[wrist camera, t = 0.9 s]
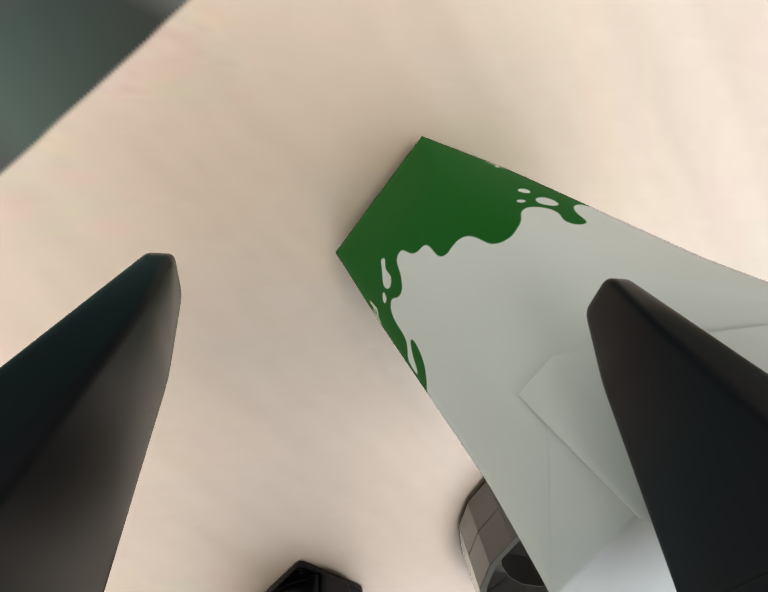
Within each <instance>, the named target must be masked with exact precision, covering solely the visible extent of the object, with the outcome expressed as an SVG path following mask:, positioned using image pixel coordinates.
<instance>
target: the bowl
mask: <svg viewBox="0 0 768 592" xmlns="http://www.w3.org/2000/svg"><path fill="white" fill-rule="evenodd" d="M459 531H460V540H461V548H462V551H463V554H464V557H465V560H466V564H467V567H468V570H469V573H470V576H471V579H472V582H473V586H474V589H475V592H549V591H548V589H547V587H546V586H545V584H544V582H543V580H542V578H541V576H540V574H539V573H538V571H537V569H536V567H535V565H534V564H533V562H532V560H531V558H530V556H529V555H528V553H527V551H526V549H525V547H524V546H523V544H522V542H521V540H520V538H519V537H518V535H517V533H516V531H515V530H514V528H513V526H512V524H511V522H510V521H509V519H508V517H507V515H506V514H505V512H504V510H503V508H502V507H501V505H500V503H499V501H498V500H497V498H496V496H495V494H494V493H493V491H492V489H491V487H490V486H489V484H488V483H487V481H486V482H485V483H484V484H483V485H482V487H481V488H480V489H479V490H478V491H477V492H476V494H475V495H474V496H473V497H472V498H471V500H470V501H469V502H468V504H467V506H466V509H465V512H464V514H463V517H462V520H461V523H460V525H459Z"/></svg>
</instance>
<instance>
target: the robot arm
mask: <svg viewBox="0 0 768 592" xmlns="http://www.w3.org/2000/svg"><path fill="white" fill-rule="evenodd" d="M180 304H181V287H180V282H179V276H178V271H177V266H176V261H175V258H174V256H172V255H171V254H164V253H147V254H145V255H143V256H142V257H141V258H140V259H138V260H137V261H136V262H135V263H133V264H132V265H131V266H129V267H128V268H127V269H126V270H124V271H123V272H122V273H120V274H119V275H118V276H117V277H115V278H114V279H113V280H112V281H110V282H109V283H108V284H106V285H105V286H104V287H103V288H101V289H100V290H99V291H97V292H96V293H95V294H94V295H92V296H91V297H90V298H89V299H87V300H86V301H85V302H83V303H82V304H81V305H80V306H78V307H77V308H76V309H75V310H73V311H72V312H71V313H69V314H68V315H67V316H66V317H64V318H63V319H62V320H60V321H59V322H58V323H57V324H55V325H54V326H53V327H52V328H50V329H49V330H48V331H46V332H45V333H44V334H43V335H41V336H40V337H39V338H37V339H36V340H35V341H34V342H32V343H31V344H30V345H29V346H27V347H26V348H25V349H23V350H22V351H21V352H20V353H18V354H17V355H16V356H14V357H13V358H12V359H11V360H9V361H8V362H7V363H6V364H4V365H3V366H2V367H0V592H104V590H105V587H106V584H107V580H108V577H109V574H110V570H111V567H112V564H113V560H114V557H115V554H116V550H117V547H118V544H119V541H120V537H121V534H122V531H123V527H124V524H125V521H126V517H127V514H128V511H129V507H130V504H131V501H132V497H133V494H134V491H135V488H136V484H137V481H138V478H139V474H140V471H141V468H142V464H143V461H144V458H145V454H146V451H147V448H148V444H149V441H150V438H151V435H152V431H153V428H154V425H155V421H156V418H157V415H158V411H159V408H160V405H161V401H162V398H163V395H164V391H165V388H166V384H167V380H168V376H169V371H170V365H171V359H172V353H173V347H174V341H175V335H176V328H177V322H178V316H179V310H180ZM587 322H588V326H589V330H590V334H591V339H592V343H593V347H594V351H595V355H596V359H597V364H598V368H599V372H600V376H601V380H602V383H603V386H604V389H605V392H606V395H607V398H608V401H609V404H610V407H611V409H612V412H613V415H614V418H615V421H616V423H617V426H618V429H619V432H620V435H621V437H622V440H623V443H624V446H625V449H626V451H627V454H628V457H629V460H630V463H631V465H632V468H633V471H634V474H635V477H636V480H637V482H638V485H639V488H640V491H641V494H642V496H643V499H644V502H645V505H646V508H647V510H648V513H649V516H650V519H651V522H652V524H653V527H654V530H655V533H656V536H657V538H658V541H659V544H660V547H661V550H662V552H663V555H664V558H665V561H666V564H667V566H668V569H669V572H670V575H671V578H672V580H673V583H674V586H675V589H676V592H768V374H767V373H766V372H765V371H763V370H762V369H760V368H759V367H757V366H756V365H754V364H753V363H751V362H750V361H748V360H747V359H745V358H744V357H742V356H741V355H739V354H738V353H737V352H735V351H734V350H732V349H731V348H729V347H728V346H726V345H725V344H723V343H722V342H720V341H719V340H717V339H716V338H714V337H713V336H712V335H710V334H709V333H707V332H706V331H704V330H703V329H701V328H700V327H698V326H697V325H695V324H694V323H692V322H691V321H689V320H688V319H686V318H685V317H684V316H682V315H681V314H679V313H678V312H676V311H675V310H673V309H672V308H670V307H669V306H667V305H666V304H664V303H663V302H661V301H660V300H658V299H657V298H656V297H654V296H653V295H651V294H650V293H648V292H647V291H645V290H644V289H642V288H641V287H639V286H638V285H636V284H635V283H633V282H632V281H630V280H628V279H618V278H609V279H607V280H605V281H604V282H603V283H602V285H601V287H600V288H599V290H598V291H597V293H596V295H595V296H594V298H593V299H592V301H591V302H590V304H589V306H588V308H587ZM267 592H363V591H362V587H361V586H359V585H356V584H354V583H352V582H349V581H347V580H345V579H342V578H340V577H338V576H335V575H333V574H331V573H328V572H326V571H324V570H321V569H319V568H317V567H314V566H312V565H310V564H307V563H305V562H298V563H296V564H295V565H294V566H293V567H292V568H291V569H290V570H289V571H288V572H287V573H286V574H285V575H284V576H283V577H281V578H280V579H279V580H278V581H277V582H276V583H275V584H274V585H273V586H272V587H271V588H270V589H269V590H268V591H267Z"/></svg>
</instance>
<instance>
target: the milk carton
mask: <svg viewBox="0 0 768 592" xmlns="http://www.w3.org/2000/svg"><path fill="white" fill-rule="evenodd" d="M336 254H337V255H338V257H339V258H340V260H341V261H342V263H343V265H344V266H345V268H346V269H347V271H348V273H349V274H350V276H351V277H352V279H353V281H354V282H355V284H356V285H357V287H358V289H359V290H360V292H361V293H362V295H363V297H364V298H365V300H366V301H367V303H368V304H369V306H370V308H371V309H372V311H373V312H374V314H375V316H376V317H377V319H378V320H379V322H380V323H381V325H382V326H383V328H384V329H385V331H386V332H387V334H388V335H389V337H390V338H391V340H392V341H393V343H394V344H395V346H396V347H397V349H398V350H399V352H400V353H401V355H402V356H403V358H404V359H405V361H406V362H407V364H408V365H409V367H410V368H411V370H412V371H413V372H414V374H415V375H416V377H417V378H418V380H419V381H420V383H421V384H422V386H423V387H424V389H425V390H426V392H427V393H428V395H429V396H430V398H431V399H432V401H433V402H434V404H435V405H436V407H437V408H438V410H439V411H440V413H441V414H442V416H443V417H444V419H445V420H446V422H447V423H448V424H449V426H450V427H451V429H452V430H453V432H454V433H455V435H456V436H457V438H458V439H459V441H460V442H461V444H462V445H463V447H464V448H465V450H466V451H467V453H468V454H469V456H470V457H471V459H472V460H473V462H474V463H475V465H476V466H477V468H478V469H479V471H480V472H481V474H482V475H483V477H484V478H485V480H486V481H487V483H488V484H489V486H490V487H491V489H492V491H493V493H494V494H495V496H496V498H497V500H498V501H499V503H500V505H501V507H502V508H503V510H504V512H505V514H506V515H507V517H508V519H509V521H510V522H511V524H512V526H513V528H514V530H515V531H516V533H517V535H518V537H519V538H520V540H521V542H522V544H523V546H524V547H525V549H526V551H527V553H528V555H529V556H530V558H531V560H532V562H533V564H534V565H535V567H536V569H537V571H538V573H539V574H540V576H541V578H542V580H543V582H544V584H545V586H546V587H547V589H548V591H549V592H676V589H675V586H674V583H673V580H672V578H671V575H670V572H669V569H668V566H667V564H666V561H665V558H664V555H663V552H662V550H661V547H660V544H659V541H658V538H657V536H656V533H655V530H654V527H653V524H652V522H651V519H650V516H649V513H648V510H647V508H646V505H645V502H644V499H643V496H642V494H641V491H640V488H639V485H638V482H637V480H636V477H635V474H634V471H633V468H632V465H631V463H630V460H629V457H628V454H627V451H626V449H625V446H624V443H623V440H622V437H621V435H620V432H619V429H618V426H617V423H616V421H615V418H614V415H613V412H612V409H611V407H610V404H609V401H608V398H607V395H606V392H605V389H604V386H603V383H602V380H601V376H600V372H599V368H598V364H597V359H596V355H595V351H594V347H593V343H592V339H591V334H590V330H589V326H588V322H587V308H588V306H589V304H590V302H591V301H592V299H593V298H594V296H595V295H596V293H597V291H598V290H599V288H600V287H601V285H602V283H603V282H604V281H605V280H607V279H609V278H618V279H628V280H630V281H632V282H633V283H635V284H636V285H638V286H639V287H641V288H642V289H644V290H645V291H647V292H648V293H650V294H651V295H653V296H654V297H656V298H657V299H658V300H660V301H661V302H663V303H664V304H666V305H667V306H669V307H670V308H672V309H673V310H675V311H676V312H678V313H679V314H681V315H682V316H684V317H685V318H686V319H688V320H689V321H691V322H692V323H694V324H695V325H697V326H698V327H700V328H701V329H703V330H704V331H706V332H707V333H709V334H710V335H712V336H713V337H714V338H716V339H717V340H719V341H720V342H722V343H723V344H725V345H726V346H728V347H729V348H731V349H732V350H734V351H735V352H737V353H738V354H739V355H741V356H742V357H744V358H745V359H747V360H748V361H750V362H751V363H753V364H754V365H756V366H757V367H759V368H760V369H762V370H763V371H765V372H766V373H767V374H768V282H766V281H764V280H761V279H758V278H756V277H753V276H750V275H748V274H745V273H742V272H740V271H737V270H734V269H732V268H729V267H726V266H724V265H721V264H719V263H716V262H713V261H711V260H708V259H706V258H703V257H701V256H699V255H696V254H694V253H692V252H689V251H687V250H685V249H683V248H681V247H678V246H676V245H674V244H672V243H670V242H667V241H665V240H663V239H661V238H659V237H656V236H654V235H652V234H650V233H648V232H645V231H643V230H641V229H639V228H637V227H634V226H632V225H630V224H628V223H626V222H623V221H621V220H619V219H617V218H614V217H612V216H610V215H608V214H606V213H603V212H601V211H599V210H597V209H595V208H592V207H590V206H588V205H586V204H584V203H581V202H579V201H577V200H575V199H573V198H570V197H568V196H566V195H564V194H561V193H559V192H557V191H555V190H553V189H550V188H548V187H546V186H544V185H542V184H539V183H537V182H535V181H533V180H530V179H528V178H526V177H524V176H521V175H519V174H517V173H515V172H512V171H510V170H508V169H505V168H503V167H500V166H498V165H495V164H493V163H490V162H488V161H485V160H483V159H480V158H477V157H475V156H472V155H469V154H467V153H464V152H462V151H459V150H456V149H454V148H451V147H449V146H446V145H443V144H441V143H438V142H436V141H433V140H430V139H428V138H426V137H423V136H422V137H421V138H420V140H419V141H418V142H417V144H416V145H415V146H414V148H413V149H412V151H411V152H410V153H409V155H408V156H407V157H406V159H405V160H404V161H403V163H402V164H401V165H400V167H399V168H398V169H397V171H396V172H395V173H394V175H393V176H392V177H391V179H390V180H389V181H388V183H387V184H386V185H385V187H384V188H383V189H382V191H381V192H380V194H379V195H378V196H377V198H376V199H375V200H374V202H373V203H372V204H371V206H370V207H369V208H368V210H367V211H366V212H365V214H364V215H363V216H362V218H361V219H360V220H359V222H358V223H357V224H356V226H355V227H354V228H353V230H352V231H351V232H350V234H349V235H348V236H347V238H346V239H345V241H344V242H343V243H342V245H341V246H340V247H339V249H338V250H337V251H336Z"/></svg>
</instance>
